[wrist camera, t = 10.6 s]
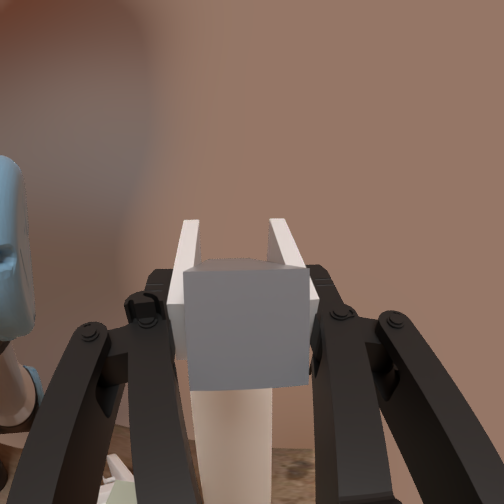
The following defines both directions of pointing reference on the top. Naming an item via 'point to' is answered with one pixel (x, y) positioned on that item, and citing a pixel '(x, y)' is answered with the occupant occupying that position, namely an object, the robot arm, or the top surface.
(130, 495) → the shelf
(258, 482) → the socket tower
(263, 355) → the bar
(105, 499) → the cable organizer
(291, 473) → the top surface
